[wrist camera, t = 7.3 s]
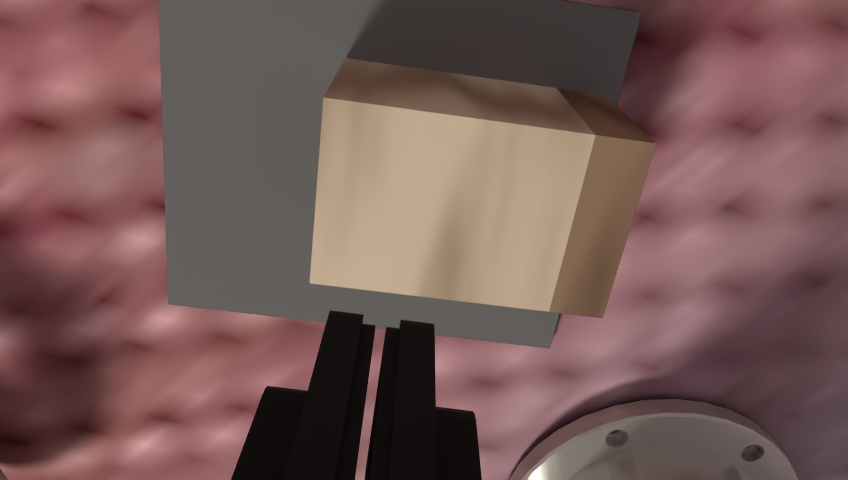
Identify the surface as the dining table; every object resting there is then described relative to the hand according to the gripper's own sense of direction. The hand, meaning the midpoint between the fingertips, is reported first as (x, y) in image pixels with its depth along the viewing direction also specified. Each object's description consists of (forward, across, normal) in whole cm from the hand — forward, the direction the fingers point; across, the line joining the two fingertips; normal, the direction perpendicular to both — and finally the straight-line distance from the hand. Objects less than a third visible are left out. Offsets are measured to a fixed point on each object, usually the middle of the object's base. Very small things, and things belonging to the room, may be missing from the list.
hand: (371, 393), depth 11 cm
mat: (+12, +1, 0) cm, 12 cm away
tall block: (+9, +2, -1) cm, 9 cm away
